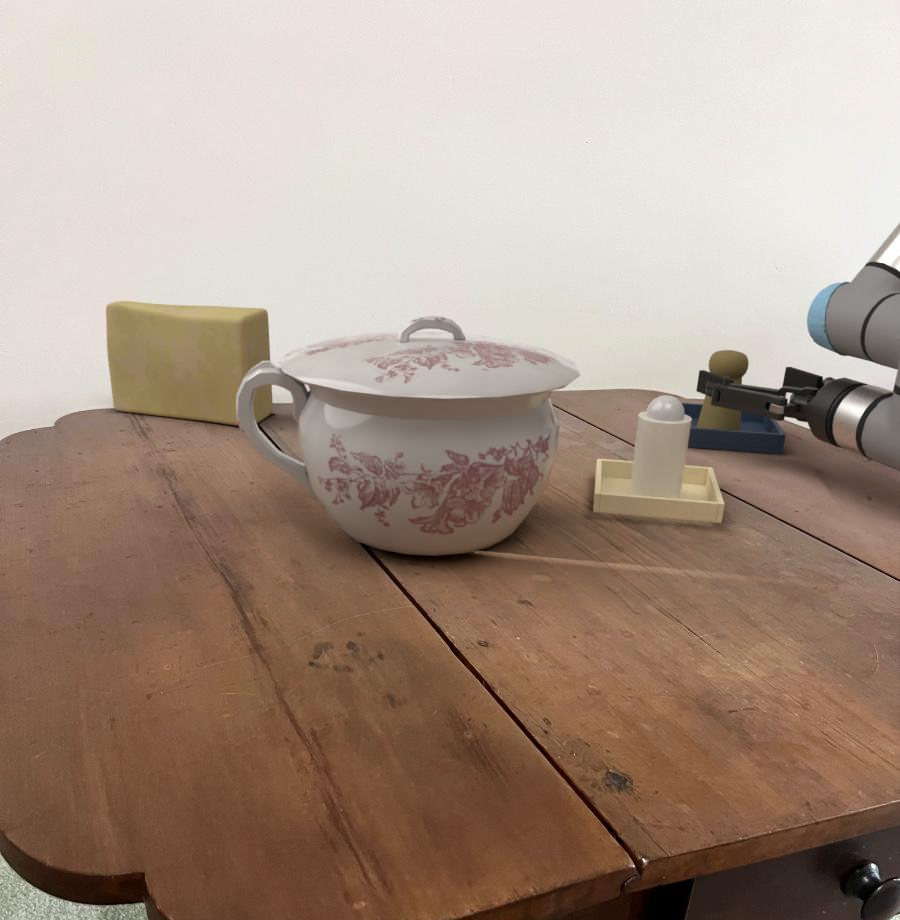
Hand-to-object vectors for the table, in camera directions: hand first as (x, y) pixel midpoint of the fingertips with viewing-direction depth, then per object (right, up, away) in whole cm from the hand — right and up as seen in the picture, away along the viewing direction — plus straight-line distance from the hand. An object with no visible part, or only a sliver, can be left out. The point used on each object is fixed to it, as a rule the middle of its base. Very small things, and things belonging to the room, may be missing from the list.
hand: (743, 378), depth 122 cm
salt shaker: (-17, -18, -21) cm, 32 cm away
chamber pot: (-42, -23, -31) cm, 57 cm away
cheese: (-76, -4, +7) cm, 76 cm away
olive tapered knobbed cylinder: (-2, -6, +6) cm, 9 cm away
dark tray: (-2, -6, +7) cm, 9 cm away
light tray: (-17, -19, -21) cm, 33 cm away
